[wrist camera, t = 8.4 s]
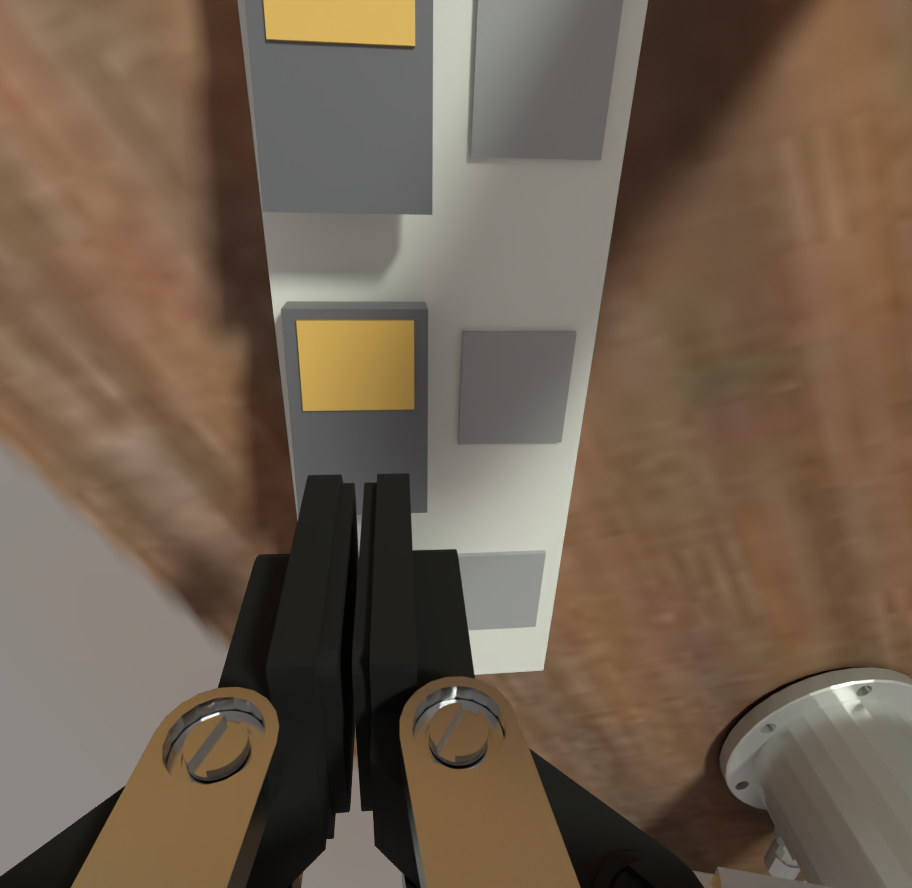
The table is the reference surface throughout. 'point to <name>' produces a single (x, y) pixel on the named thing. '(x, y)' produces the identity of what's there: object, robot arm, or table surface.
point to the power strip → (493, 286)
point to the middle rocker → (358, 392)
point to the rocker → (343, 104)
